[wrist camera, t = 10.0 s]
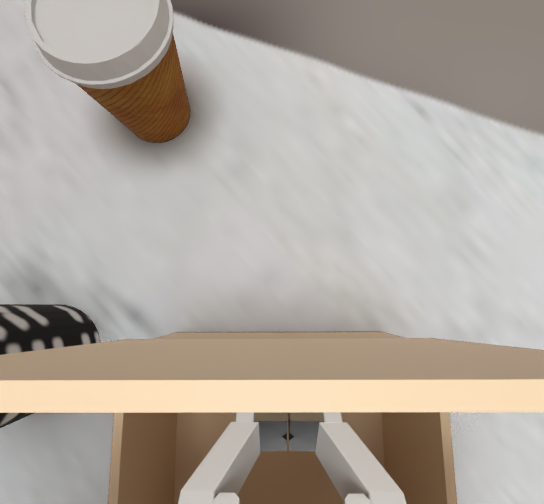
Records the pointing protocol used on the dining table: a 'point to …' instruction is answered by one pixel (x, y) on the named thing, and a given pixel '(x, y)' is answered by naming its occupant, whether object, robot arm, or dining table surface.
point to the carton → (277, 464)
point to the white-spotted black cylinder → (41, 333)
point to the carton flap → (273, 376)
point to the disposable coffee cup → (116, 58)
